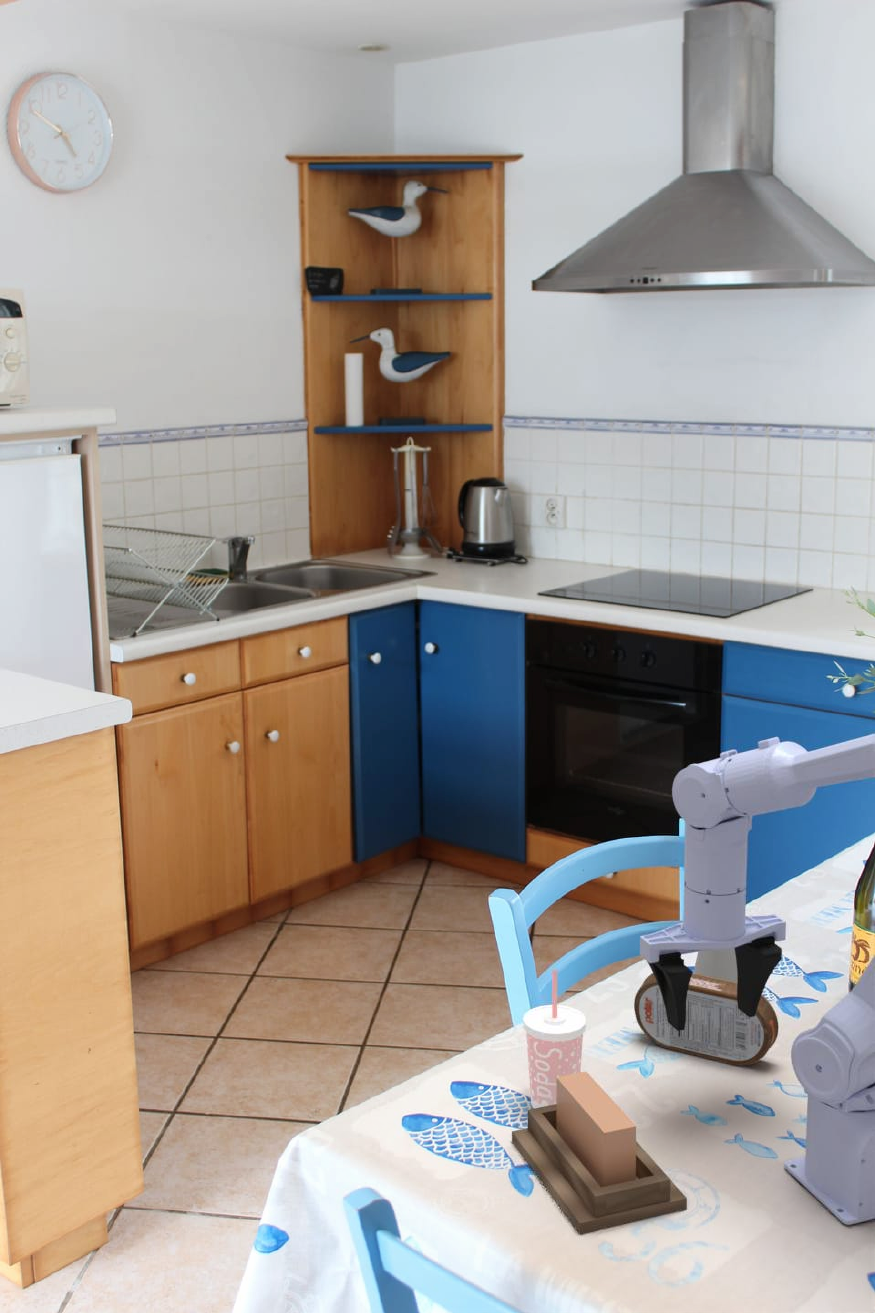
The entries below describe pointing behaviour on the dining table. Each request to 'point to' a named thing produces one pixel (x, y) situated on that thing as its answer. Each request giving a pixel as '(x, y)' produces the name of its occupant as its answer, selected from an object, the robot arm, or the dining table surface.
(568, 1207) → the tray
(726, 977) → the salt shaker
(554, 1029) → the beverage cup
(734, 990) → the tin
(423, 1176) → the dining table surface
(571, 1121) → the tan rectangular block
